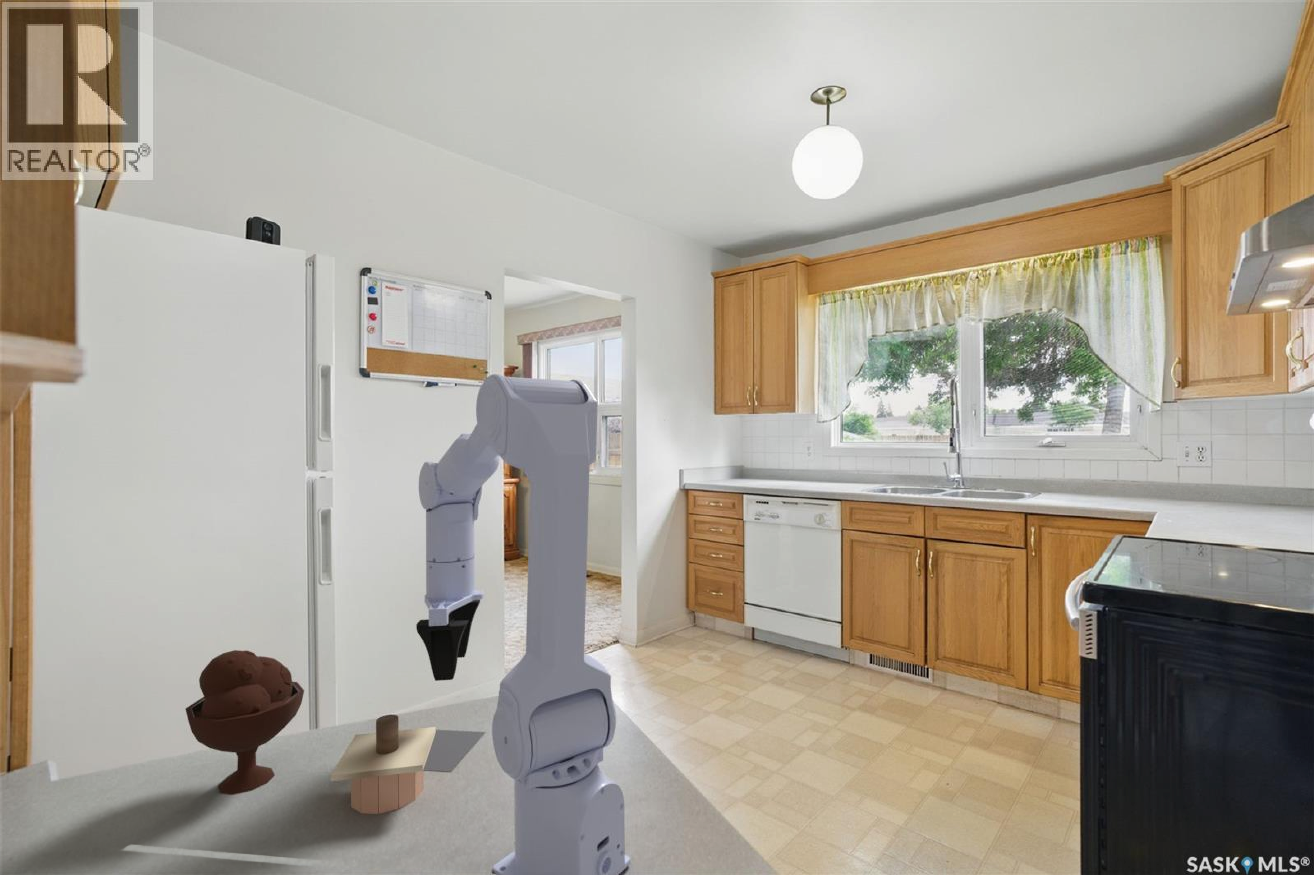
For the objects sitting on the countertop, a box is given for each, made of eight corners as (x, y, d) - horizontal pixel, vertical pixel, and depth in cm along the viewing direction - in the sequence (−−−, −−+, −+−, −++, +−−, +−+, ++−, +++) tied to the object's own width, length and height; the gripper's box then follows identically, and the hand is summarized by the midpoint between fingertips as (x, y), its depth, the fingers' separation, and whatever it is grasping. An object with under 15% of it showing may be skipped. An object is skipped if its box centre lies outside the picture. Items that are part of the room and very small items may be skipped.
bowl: (436, 792, 66) (436, 750, 66) (374, 825, 60) (374, 779, 60) (399, 772, 70) (399, 733, 70) (338, 802, 64) (338, 759, 64)
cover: (435, 732, 70) (435, 699, 70) (422, 771, 61) (422, 733, 61) (355, 740, 68) (355, 706, 68) (330, 781, 60) (330, 742, 60)
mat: (485, 735, 78) (485, 732, 78) (451, 775, 69) (451, 771, 69) (415, 731, 80) (415, 728, 80) (372, 770, 70) (372, 767, 70)
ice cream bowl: (248, 818, 61) (248, 669, 61) (158, 806, 63) (158, 662, 64) (325, 764, 72) (325, 637, 72) (245, 755, 74) (245, 632, 74)
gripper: (473, 568, 69) (474, 688, 69) (491, 547, 83) (491, 646, 83) (409, 571, 68) (409, 692, 68) (438, 549, 82) (438, 649, 82)
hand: (450, 667), depth 75 cm, fingers open, 7 cm apart
